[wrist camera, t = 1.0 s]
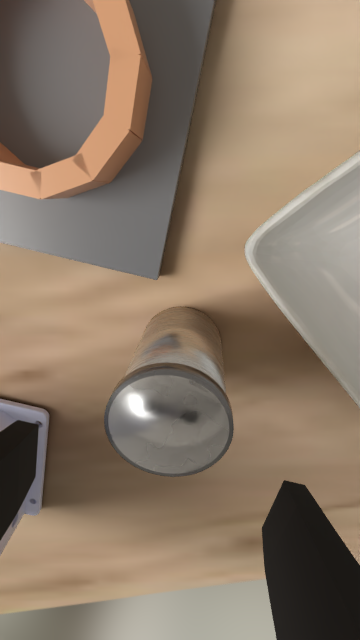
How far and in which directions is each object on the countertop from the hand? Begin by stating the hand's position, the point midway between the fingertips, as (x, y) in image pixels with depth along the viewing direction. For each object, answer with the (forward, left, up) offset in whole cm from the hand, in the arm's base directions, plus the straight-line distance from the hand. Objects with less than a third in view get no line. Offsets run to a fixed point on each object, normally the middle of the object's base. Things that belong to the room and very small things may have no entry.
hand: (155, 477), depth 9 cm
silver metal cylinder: (0, 0, -9) cm, 9 cm away
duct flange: (+10, +8, -9) cm, 16 cm away
